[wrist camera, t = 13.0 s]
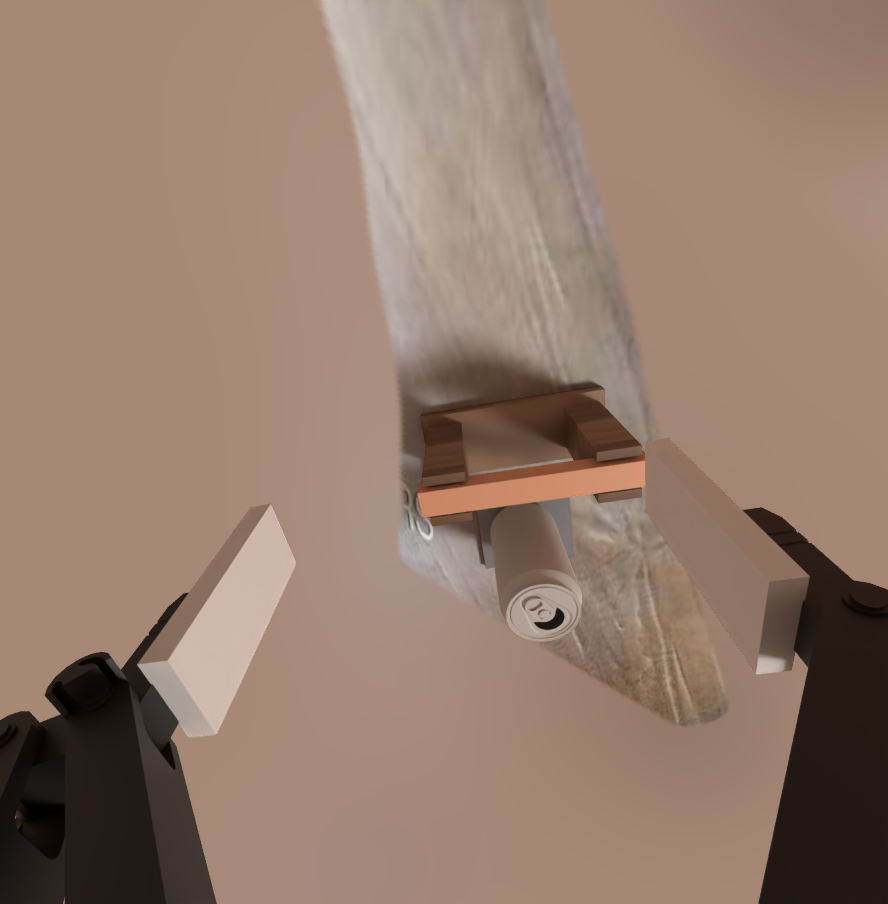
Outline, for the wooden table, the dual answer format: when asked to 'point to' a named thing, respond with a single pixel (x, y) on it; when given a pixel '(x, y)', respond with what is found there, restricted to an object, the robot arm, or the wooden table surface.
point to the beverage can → (534, 574)
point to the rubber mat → (554, 507)
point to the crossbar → (532, 485)
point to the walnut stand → (523, 439)
